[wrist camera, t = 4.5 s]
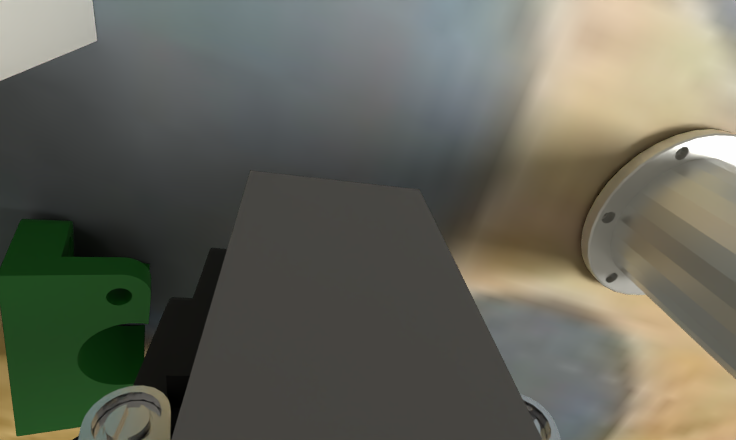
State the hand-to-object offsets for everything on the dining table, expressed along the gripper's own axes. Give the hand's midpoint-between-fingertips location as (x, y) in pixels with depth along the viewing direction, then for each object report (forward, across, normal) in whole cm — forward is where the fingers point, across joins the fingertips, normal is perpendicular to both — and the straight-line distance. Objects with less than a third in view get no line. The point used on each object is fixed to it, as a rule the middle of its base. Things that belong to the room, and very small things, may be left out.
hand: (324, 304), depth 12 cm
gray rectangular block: (+1, 0, 0) cm, 1 cm away
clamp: (+14, +12, +12) cm, 22 cm away
